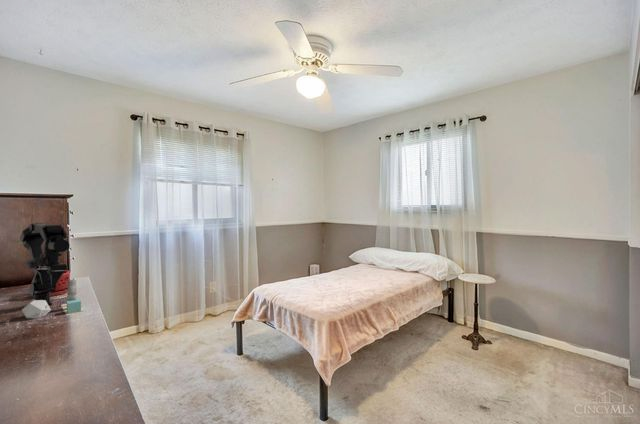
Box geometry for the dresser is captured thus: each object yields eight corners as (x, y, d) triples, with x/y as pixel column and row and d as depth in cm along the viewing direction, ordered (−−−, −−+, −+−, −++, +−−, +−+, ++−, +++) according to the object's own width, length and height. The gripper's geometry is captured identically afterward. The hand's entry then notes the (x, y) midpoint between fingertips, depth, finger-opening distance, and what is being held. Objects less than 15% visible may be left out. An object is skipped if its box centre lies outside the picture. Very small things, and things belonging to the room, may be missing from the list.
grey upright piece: (61, 306, 141) (60, 278, 141) (77, 303, 146) (76, 276, 146) (66, 317, 128) (66, 285, 128) (83, 313, 132) (83, 283, 132)
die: (25, 325, 121) (44, 305, 124) (11, 314, 122) (30, 294, 125) (42, 325, 129) (60, 305, 131) (29, 314, 130) (46, 295, 133)
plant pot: (44, 292, 166) (44, 271, 166) (73, 289, 172) (73, 269, 171) (33, 298, 154) (33, 276, 154) (65, 295, 160) (64, 274, 160)
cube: (66, 311, 133) (66, 301, 133) (79, 308, 136) (79, 299, 136) (68, 313, 130) (68, 303, 129) (81, 311, 133) (81, 301, 133)
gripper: (20, 251, 134) (15, 285, 132) (38, 252, 126) (34, 289, 124) (50, 250, 144) (47, 283, 142) (69, 251, 135) (66, 286, 134)
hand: (48, 285), depth 135 cm, fingers open, 9 cm apart
